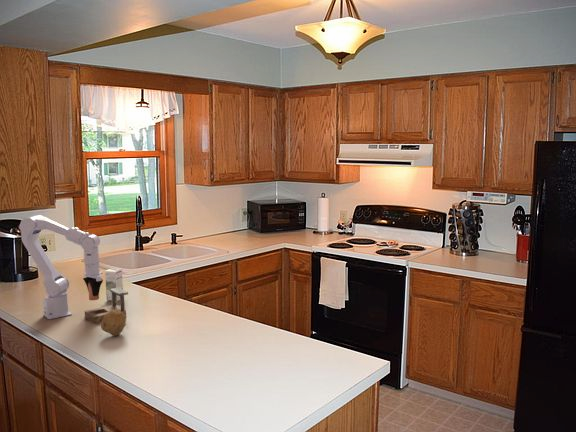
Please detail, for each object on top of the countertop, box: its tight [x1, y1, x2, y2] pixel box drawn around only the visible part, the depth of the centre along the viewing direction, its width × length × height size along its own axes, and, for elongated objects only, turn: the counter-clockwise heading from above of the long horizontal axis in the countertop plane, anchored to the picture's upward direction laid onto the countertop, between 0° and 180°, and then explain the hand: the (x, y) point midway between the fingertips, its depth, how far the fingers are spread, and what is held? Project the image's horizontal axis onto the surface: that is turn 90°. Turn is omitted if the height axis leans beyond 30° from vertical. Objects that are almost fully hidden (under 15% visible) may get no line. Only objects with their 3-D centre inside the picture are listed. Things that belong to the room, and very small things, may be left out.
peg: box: [87, 283, 100, 301], centre depth 222 cm, size 4×4×7 cm
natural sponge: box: [100, 310, 127, 337], centre depth 198 cm, size 9×9×10 cm
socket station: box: [84, 287, 129, 325], centre depth 220 cm, size 15×11×10 cm
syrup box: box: [104, 268, 124, 302], centre depth 245 cm, size 6×6×14 cm
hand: (93, 294), depth 222 cm, fingers closed on peg, 4 cm apart
